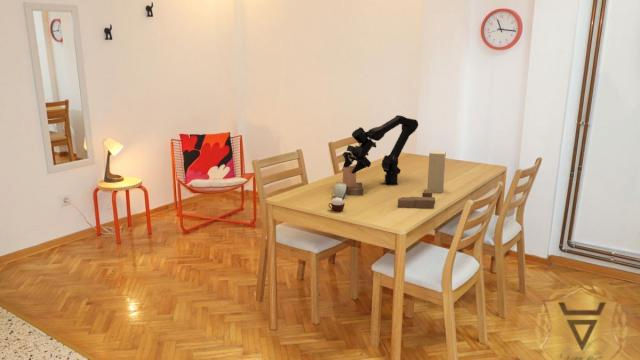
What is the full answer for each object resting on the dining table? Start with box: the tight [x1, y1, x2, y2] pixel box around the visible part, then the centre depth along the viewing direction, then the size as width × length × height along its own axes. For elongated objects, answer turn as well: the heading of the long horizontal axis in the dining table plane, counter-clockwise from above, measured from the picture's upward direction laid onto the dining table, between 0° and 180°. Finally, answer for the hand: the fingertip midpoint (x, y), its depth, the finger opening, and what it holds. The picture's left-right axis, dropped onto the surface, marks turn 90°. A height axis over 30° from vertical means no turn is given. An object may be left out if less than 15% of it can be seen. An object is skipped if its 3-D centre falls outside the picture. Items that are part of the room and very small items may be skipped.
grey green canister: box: [333, 182, 347, 200], centre depth 269 cm, size 6×6×7 cm
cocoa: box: [328, 186, 349, 213], centre depth 248 cm, size 10×6×12 cm, turn 59°
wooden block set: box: [397, 189, 436, 209], centre depth 259 cm, size 17×6×18 cm
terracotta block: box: [342, 165, 357, 188], centre depth 278 cm, size 5×5×10 cm
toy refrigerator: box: [426, 150, 447, 194], centre depth 277 cm, size 8×7×21 cm
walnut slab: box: [346, 182, 364, 196], centre depth 280 cm, size 14×14×3 cm
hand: (347, 171), depth 276 cm, fingers open, 8 cm apart
